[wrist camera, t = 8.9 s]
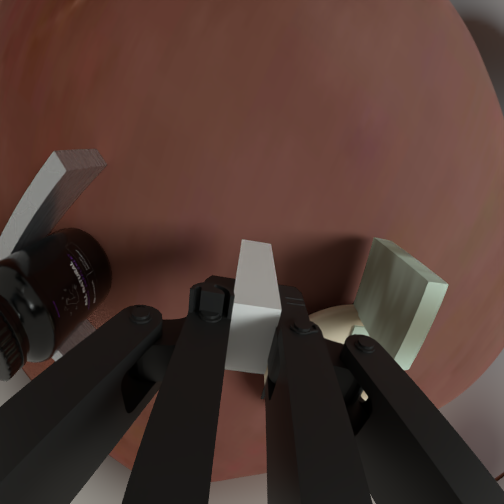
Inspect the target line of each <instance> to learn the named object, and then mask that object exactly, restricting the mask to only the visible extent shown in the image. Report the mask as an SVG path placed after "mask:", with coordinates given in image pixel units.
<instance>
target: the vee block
mask: <svg viewBox="0 0 504 504" xmlns="http://www.w3.org/2000/svg"><path fill="white" fill-rule="evenodd" d="M106 166H107V164H106V162H105V161H104V160H103V158H102V157H101V155H100V154H99V152H98V151H97V149H79V150H60V151H54V152H53V153H52V154H51V156H50V157H49V158H48V160H47V161H46V162H45V164H44V165H43V167H42V168H41V169H40V171H39V172H38V174H37V175H36V177H35V178H34V180H33V181H32V183H31V184H30V186H29V187H28V189H27V190H26V192H25V194H24V195H23V197H22V198H21V200H20V202H19V203H18V205H17V207H16V209H15V210H14V212H13V214H12V216H11V217H10V219H9V221H8V223H7V225H6V227H5V229H4V230H3V232H2V234H1V236H0V260H2V259H4V258H5V257H7V256H9V255H11V254H13V253H15V252H17V251H19V250H21V249H23V248H25V247H27V246H29V245H31V244H33V243H35V242H37V241H39V240H41V239H43V238H45V237H47V236H48V234H49V233H50V232H51V230H52V229H53V228H54V226H55V225H56V224H57V222H58V221H59V220H60V219H61V217H62V216H63V215H64V214H65V212H66V211H67V210H68V209H69V207H70V206H71V205H72V204H73V203H74V201H75V200H76V199H77V198H78V197H79V195H80V194H81V193H82V192H83V191H84V190H85V189H86V187H87V186H88V185H89V184H90V183H91V182H92V181H93V180H94V179H95V178H96V176H97V175H98V174H99V173H100V172H101V171H102V170H103V169H104V168H105V167H106ZM95 330H96V329H95V328H94V327H93V326H92V325H91V323H90V322H89V321H88V320H87V319H86V320H85V321H84V322H83V323H82V324H81V326H80V327H79V328H78V329H77V330H76V331H75V332H74V333H73V334H72V335H71V337H70V338H69V339H68V340H67V341H66V342H65V343H64V344H63V346H62V347H61V348H60V349H59V350H58V351H57V352H56V354H54V356H52V358H53V359H54V360H55V362H56V361H57V360H58V359H59V358H61V357H62V356H63V355H64V354H66V353H67V352H68V351H70V350H71V349H72V348H73V347H75V346H76V345H77V344H79V343H80V342H81V341H82V340H84V339H85V338H86V337H88V336H89V335H90V334H91V333H93V332H94V331H95Z"/></svg>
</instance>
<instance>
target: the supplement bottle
mask: <svg viewBox="0 0 504 504" xmlns="http://www.w3.org/2000/svg"><path fill="white" fill-rule="evenodd" d="M111 281H112V274H111V267H110V263H109V260H108V258H107V255H106V253H105V251H104V250H103V248H102V247H101V245H100V244H99V243H98V241H97V240H96V239H95V238H93V237H92V236H91V235H90V234H88V233H86V232H85V231H82V230H80V229H75V228H68V229H64V230H61V231H58V232H56V233H54V234H52V235H49V236H47V237H45V238H43V239H41V240H39V241H37V242H35V243H33V244H31V245H29V246H27V247H25V248H23V249H21V250H19V251H17V252H15V253H13V254H11V255H9V256H7V257H5V258H4V259H2V260H0V380H2V381H8V380H9V379H10V378H12V377H13V376H14V374H15V373H16V372H17V371H18V370H19V369H21V368H22V367H23V366H24V365H25V364H26V362H27V361H29V362H43V361H47V360H48V359H50V358H51V357H52V356H54V354H56V352H57V351H58V350H59V349H60V348H61V347H62V346H63V344H64V343H65V342H66V341H67V340H68V339H69V338H70V337H71V335H72V334H73V333H74V332H75V331H76V330H77V329H78V328H79V327H80V326H81V324H82V323H83V322H84V321H85V320H86V319H87V318H88V317H89V316H90V315H91V314H92V313H93V312H94V310H95V309H96V308H97V307H98V306H99V305H100V304H101V303H102V302H103V301H104V299H105V298H106V297H107V295H108V293H109V290H110V287H111Z"/></svg>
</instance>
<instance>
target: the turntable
mask: <svg viewBox="0 0 504 504" xmlns="http://www.w3.org/2000/svg"><path fill="white" fill-rule="evenodd" d="M448 285H449V284H447V283H446V282H445V281H444V280H442V279H441V278H440V277H439V276H437V275H436V274H435V273H434V272H432V271H431V270H430V269H428V268H427V267H426V266H425V265H423V264H422V263H421V262H419V261H418V260H417V259H415V258H414V257H413V256H411V255H410V254H409V253H407V252H406V251H404V250H403V249H402V248H400V247H399V246H398V245H396V244H395V243H393V242H392V241H389V240H384V239H380V238H375V237H374V239H373V242H372V246H371V250H370V253H369V257H368V260H367V263H366V267H365V270H364V273H363V276H362V280H361V283H360V286H359V289H358V292H357V295H356V298H355V301H354V304H350V305H340V306H334V307H330V308H327V309H323V310H320V311H318V312H315V313H313V314H310V315H308V316H309V319H310V321H312V322H314V323H315V324H316V325H318V326H319V328H320V329H321V331H322V334H323V337H324V338H326V339H329V340H331V341H335V342H338V343H342V344H344V342H345V340H346V338H347V337H348V336H350V335H353V334H362V335H365V336H369V337H371V338H373V339H375V340H376V341H377V342H378V343H380V344H381V345H382V347H383V348H384V349H385V350H386V351H387V352H388V353H389V354H390V355H391V357H392V358H393V359H394V360H395V361H396V362H397V363H398V364H399V365H400V367H401V368H402V369H403V370H409V368H410V366H411V364H412V363H413V361H414V359H415V357H416V355H417V353H418V351H419V349H420V348H421V346H422V344H423V342H424V340H425V338H426V336H427V334H428V332H429V329H430V327H431V325H432V323H433V321H434V319H435V316H436V314H437V312H438V310H439V307H440V305H441V303H442V300H443V298H444V295H445V293H446V290H447V288H448ZM267 375H268V365H267V368H266V372H265V374H264V385H265V382H266V379H267ZM361 397H362V398H363V399H364V400H365V401H366V400H367V398H368V396H367V395H366V393H365V392H364V391H363V392H362V394H361Z"/></svg>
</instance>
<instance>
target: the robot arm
mask: <svg viewBox="0 0 504 504" xmlns="http://www.w3.org/2000/svg"><path fill="white" fill-rule="evenodd" d="M303 300H304V299H303V296H302V293H301V292H300V291H299V290H298V289H297V288H296V287H291V286H284V285H278V283H277V277H276V271H275V265H274V259H273V253H272V247H271V244H268V243H262V242H256V241H249V240H243V239H242V243H241V249H240V255H239V262H238V268H237V274H236V279H232V278H226V277H220V276H214V275H212V276H210V277H209V278H207V279H206V280H205V282H203V283H198V284H195V285H193V286H192V287H191V288H190V297H189V311H188V315H187V317H185V318H181V319H173V320H162V314H161V313H160V312H159V311H158V310H157V309H155V308H153V307H150V306H146V305H134V306H129V307H127V308H125V309H123V310H122V311H121V312H119V313H118V314H117V315H115V316H114V317H113V318H111V319H110V320H109V321H107V322H106V323H105V324H103V325H102V326H101V327H99V328H98V329H97V330H95V331H94V332H93V333H91V334H90V335H89V336H88V337H86V338H85V339H84V340H82V341H81V342H80V343H79V344H77V345H76V346H75V347H73V348H72V349H71V350H70V351H68V352H67V353H66V354H64V355H63V356H62V357H61V358H59V359H58V360H57V361H56V362H54V363H53V364H52V365H51V366H49V367H48V368H47V369H46V370H44V371H43V372H42V373H41V374H39V375H38V376H37V377H36V378H34V379H33V380H32V381H31V382H30V383H28V384H27V385H26V386H25V387H23V388H22V389H21V390H20V391H19V392H17V393H16V394H15V395H14V396H13V397H11V398H10V399H9V400H8V401H7V402H5V403H4V404H3V405H2V406H1V407H0V504H70V503H71V501H72V500H73V499H74V497H75V496H76V495H77V494H78V493H79V491H80V490H81V489H82V488H83V486H84V485H85V484H86V483H87V481H88V480H89V479H90V477H91V476H92V475H93V474H94V472H95V471H96V470H97V469H98V467H99V466H100V465H101V463H102V462H103V461H104V459H105V458H106V457H107V456H108V455H109V453H110V452H111V451H112V449H113V448H114V447H115V446H116V444H117V443H118V442H119V440H120V439H121V438H122V437H123V435H124V434H125V433H126V431H127V430H128V429H129V428H130V426H131V425H132V424H133V422H134V421H135V420H136V419H137V417H138V416H139V415H140V413H141V412H142V411H143V409H144V408H145V407H146V406H147V404H148V403H149V402H150V400H151V399H152V398H153V396H154V395H155V394H156V393H157V391H158V390H159V392H158V394H157V397H156V400H155V403H154V406H153V409H152V411H151V414H150V417H149V420H148V423H147V426H146V429H145V432H144V435H143V438H142V441H141V444H140V447H139V450H138V453H137V456H136V459H135V462H134V465H133V468H132V472H131V475H130V478H129V481H128V484H127V488H126V491H125V495H124V498H123V501H122V504H208V499H209V491H210V482H211V474H212V465H213V457H214V449H215V440H216V432H217V424H218V416H219V408H220V400H221V392H222V385H223V377H224V369H227V370H234V371H242V372H249V373H258V374H265V372H266V368H267V365H268V375H267V379H266V382H265V386H264V389H263V392H262V396H261V399H264V397H265V405H266V446H267V494H268V495H267V496H268V504H372V500H371V496H372V498H373V499H374V501H375V503H376V504H504V491H503V490H502V489H501V487H500V486H499V484H498V483H497V482H496V481H495V479H494V478H493V477H492V475H491V474H490V473H489V471H488V470H487V469H486V468H485V466H484V465H483V464H482V463H481V461H480V460H479V459H478V458H477V456H476V455H475V454H474V453H473V451H472V450H471V449H470V448H469V446H468V445H467V444H466V443H465V441H464V440H463V439H462V438H461V437H460V436H459V434H458V433H457V432H456V431H455V430H454V428H453V427H452V426H451V425H450V423H449V422H448V421H447V420H446V419H445V417H444V416H443V415H442V414H441V413H440V411H439V410H438V409H437V408H436V407H435V406H434V404H433V403H432V402H431V401H430V400H429V399H428V397H427V396H426V395H425V394H424V393H423V392H422V390H421V389H420V388H419V387H418V386H417V385H416V384H415V382H414V381H413V380H412V379H411V378H410V377H409V376H408V375H407V373H406V372H405V371H404V370H403V369H402V368H401V367H400V365H399V364H398V363H397V362H396V361H395V360H394V359H393V358H392V357H391V355H390V354H389V353H388V352H387V351H386V350H385V349H384V348H383V347H382V345H381V344H380V343H378V342H377V341H376V340H375V339H373V338H371V337H369V336H365V335H362V334H353V335H350V336H348V337H347V338H346V340H345V342H344V344H342V343H338V342H335V341H331V340H329V339H326V338H324V337H323V334H322V331H321V329H320V328H319V326H318V325H316V324H315V323H314V322H312V321H310V319H309V316H308V312H307V309H306V306H305V303H304V301H303ZM363 391H364V392H365V393H366V395H367V396H368V398H367V400H366V401H365V400H364V399H363V398H362V397H361V394H362V392H363ZM370 494H371V496H370Z"/></svg>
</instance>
